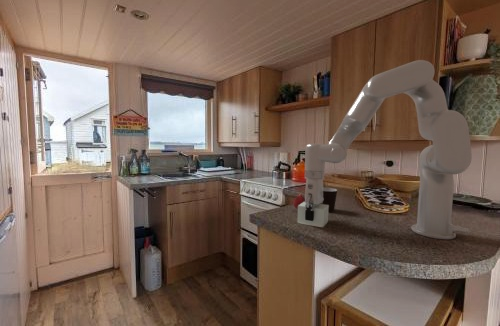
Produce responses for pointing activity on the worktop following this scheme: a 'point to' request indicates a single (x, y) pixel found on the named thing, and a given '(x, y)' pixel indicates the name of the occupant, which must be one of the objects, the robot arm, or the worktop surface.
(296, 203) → the onion
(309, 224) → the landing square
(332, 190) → the coffee mug
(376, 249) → the worktop surface
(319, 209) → the pale sage box
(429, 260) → the worktop surface
